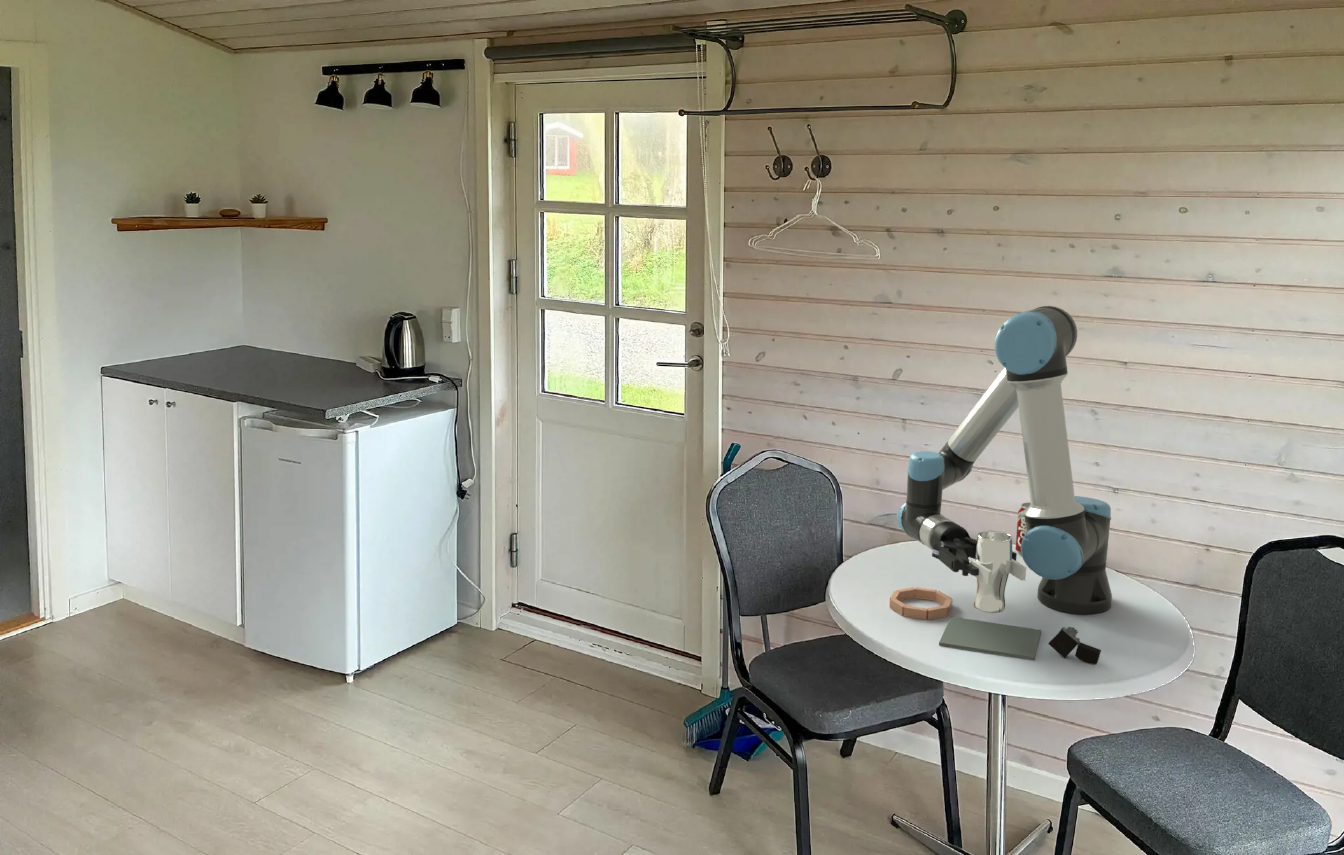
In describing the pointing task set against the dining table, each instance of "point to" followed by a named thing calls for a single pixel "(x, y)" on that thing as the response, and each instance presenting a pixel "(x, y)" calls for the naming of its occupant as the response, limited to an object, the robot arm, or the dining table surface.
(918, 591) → the coaster ring
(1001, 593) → the beer glass
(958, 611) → the dining table surface
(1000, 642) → the mat
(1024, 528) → the soda can
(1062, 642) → the lighter
